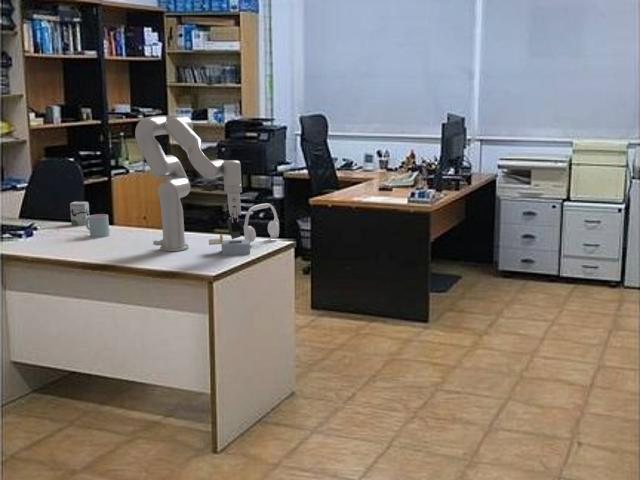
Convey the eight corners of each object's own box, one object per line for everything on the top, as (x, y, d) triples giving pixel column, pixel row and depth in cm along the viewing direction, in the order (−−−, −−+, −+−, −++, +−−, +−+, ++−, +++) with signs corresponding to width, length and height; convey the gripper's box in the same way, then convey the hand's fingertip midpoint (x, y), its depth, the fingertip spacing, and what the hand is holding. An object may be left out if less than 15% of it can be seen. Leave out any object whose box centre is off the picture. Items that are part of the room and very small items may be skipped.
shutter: (208, 244, 357) (208, 237, 356) (208, 241, 364) (208, 233, 364) (222, 244, 358) (222, 236, 357) (222, 240, 365) (222, 233, 365)
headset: (251, 246, 374) (249, 207, 370) (240, 244, 379) (239, 206, 375) (282, 239, 388) (281, 201, 385) (272, 237, 393) (270, 200, 389)
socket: (222, 255, 357) (221, 245, 357) (221, 250, 367) (221, 240, 366) (250, 253, 359) (249, 243, 358) (248, 249, 369) (248, 239, 368)
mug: (113, 234, 408) (112, 215, 406) (99, 238, 400) (97, 218, 398) (94, 232, 415) (92, 212, 413) (79, 235, 407) (78, 215, 405)
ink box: (71, 225, 436) (69, 203, 434) (75, 223, 441) (73, 201, 439) (86, 225, 435) (84, 203, 432) (90, 223, 440) (88, 201, 437)
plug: (240, 236, 360) (234, 216, 358) (231, 239, 360) (225, 219, 357) (240, 234, 364) (234, 215, 362) (231, 237, 363) (225, 217, 361)
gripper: (242, 191, 350) (245, 233, 353) (240, 186, 366) (242, 226, 370) (224, 192, 349) (227, 234, 352) (223, 186, 365) (226, 227, 369)
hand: (235, 230), depth 361 cm, fingers closed on plug, 4 cm apart
